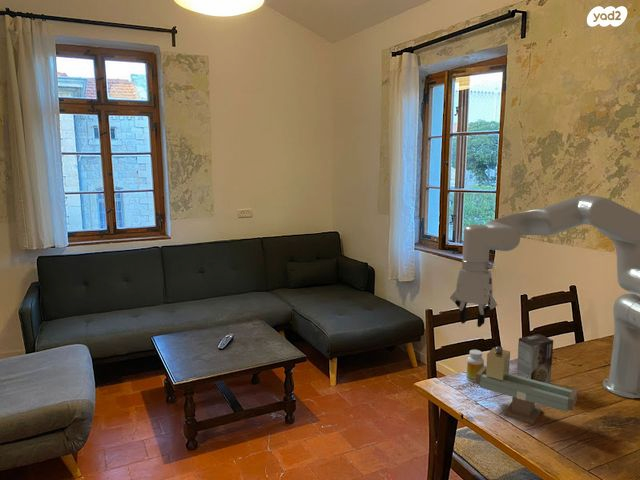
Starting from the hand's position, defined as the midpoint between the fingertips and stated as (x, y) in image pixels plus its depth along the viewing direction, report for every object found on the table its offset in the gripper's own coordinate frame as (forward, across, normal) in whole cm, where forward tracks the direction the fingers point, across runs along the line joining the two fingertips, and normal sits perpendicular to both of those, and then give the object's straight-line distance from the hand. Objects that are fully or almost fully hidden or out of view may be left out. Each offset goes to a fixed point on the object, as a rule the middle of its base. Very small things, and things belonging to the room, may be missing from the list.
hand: (472, 323), depth 148 cm
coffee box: (+25, -14, -20) cm, 35 cm away
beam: (+24, -16, 0) cm, 29 cm away
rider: (+16, -8, 0) cm, 18 cm away
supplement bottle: (+25, +2, -13) cm, 28 cm away
